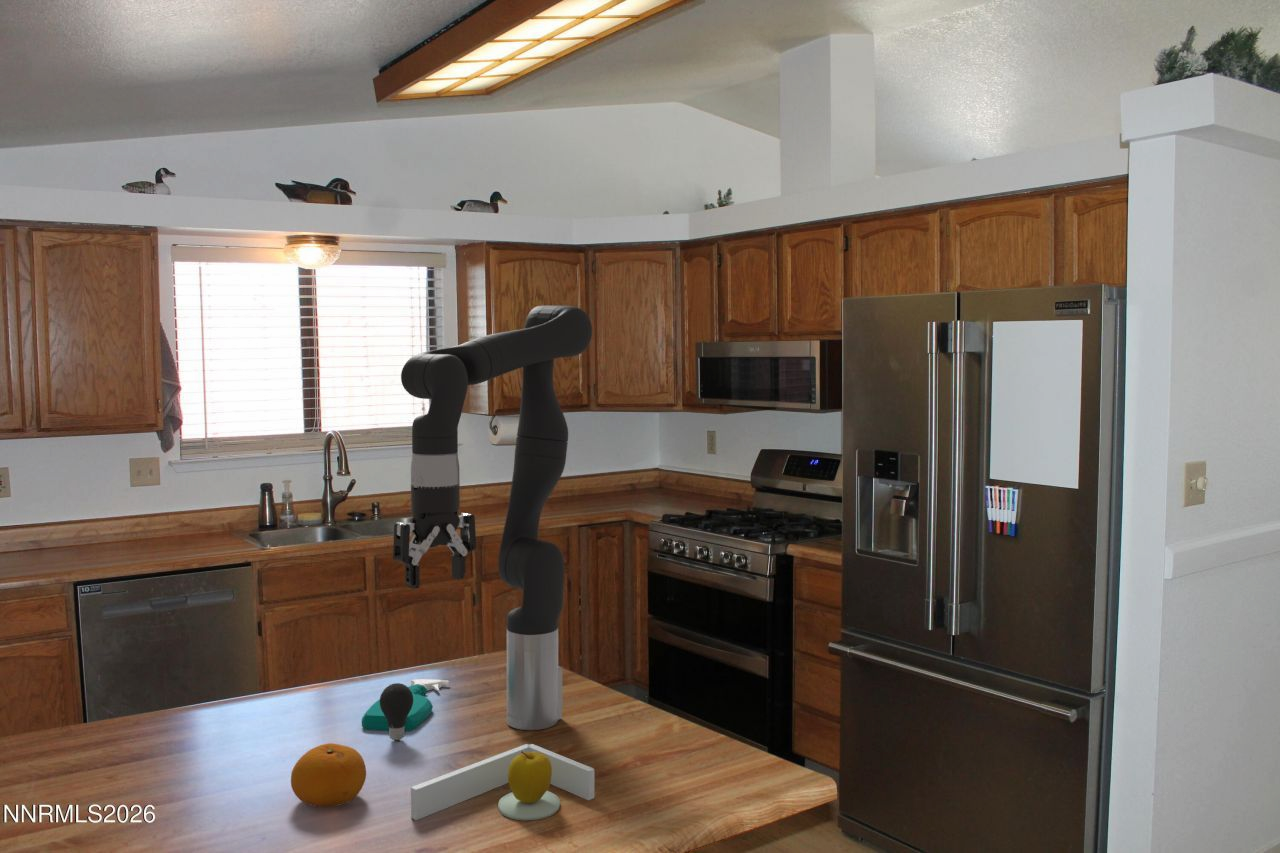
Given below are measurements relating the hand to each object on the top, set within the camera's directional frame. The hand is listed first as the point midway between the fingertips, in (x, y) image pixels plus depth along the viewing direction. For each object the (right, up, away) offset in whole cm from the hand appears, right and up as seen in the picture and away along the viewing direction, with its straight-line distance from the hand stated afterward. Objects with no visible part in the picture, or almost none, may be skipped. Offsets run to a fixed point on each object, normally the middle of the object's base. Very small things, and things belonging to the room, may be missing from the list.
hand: (435, 583), depth 161 cm
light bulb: (-9, -29, +13) cm, 33 cm away
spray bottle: (-11, -28, +30) cm, 43 cm away
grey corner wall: (+12, -31, -11) cm, 35 cm away
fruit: (-14, -31, -10) cm, 35 cm away
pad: (+16, -31, -11) cm, 37 cm away
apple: (+16, -31, -11) cm, 36 cm away
